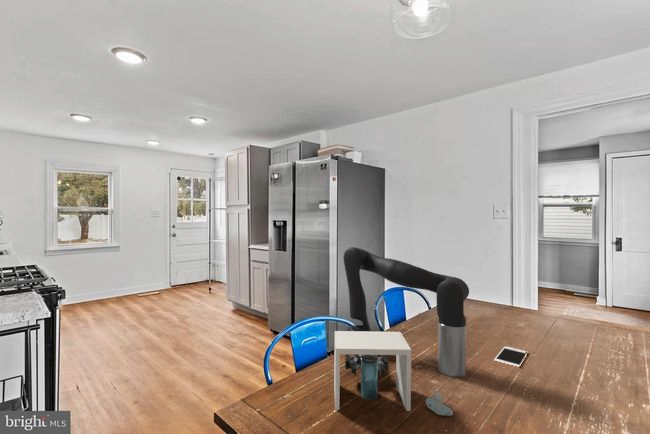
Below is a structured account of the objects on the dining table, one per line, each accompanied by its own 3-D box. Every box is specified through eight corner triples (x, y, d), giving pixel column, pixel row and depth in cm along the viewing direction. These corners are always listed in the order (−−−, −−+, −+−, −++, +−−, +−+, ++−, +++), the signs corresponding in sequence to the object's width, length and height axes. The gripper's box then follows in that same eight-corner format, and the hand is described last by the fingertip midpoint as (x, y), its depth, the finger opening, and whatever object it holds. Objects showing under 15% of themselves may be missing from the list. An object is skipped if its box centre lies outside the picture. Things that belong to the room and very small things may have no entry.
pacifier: (436, 402, 97) (422, 408, 94) (437, 381, 97) (423, 386, 94) (458, 415, 91) (444, 422, 88) (458, 393, 91) (444, 399, 88)
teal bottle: (379, 392, 102) (379, 353, 102) (375, 401, 97) (375, 360, 97) (363, 388, 104) (363, 351, 104) (358, 397, 99) (359, 357, 99)
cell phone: (529, 353, 132) (529, 351, 132) (519, 369, 119) (519, 367, 119) (504, 348, 138) (504, 345, 138) (493, 362, 125) (493, 359, 124)
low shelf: (334, 384, 106) (334, 331, 106) (399, 385, 106) (400, 331, 106) (335, 409, 92) (335, 348, 92) (410, 410, 92) (411, 349, 92)
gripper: (343, 340, 117) (346, 360, 101) (383, 340, 117) (391, 361, 101) (343, 360, 117) (345, 384, 101) (382, 361, 117) (391, 385, 101)
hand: (368, 372), depth 101 cm, fingers open, 8 cm apart
